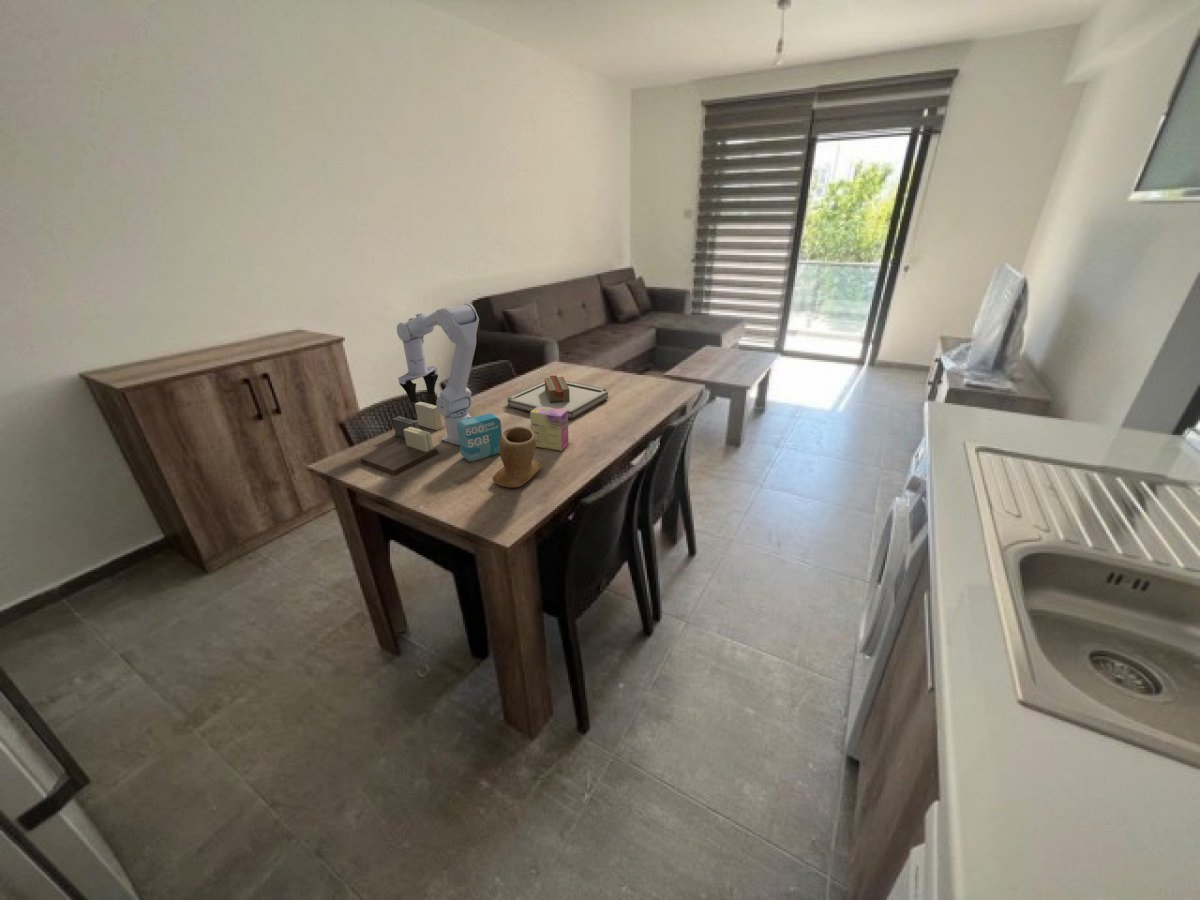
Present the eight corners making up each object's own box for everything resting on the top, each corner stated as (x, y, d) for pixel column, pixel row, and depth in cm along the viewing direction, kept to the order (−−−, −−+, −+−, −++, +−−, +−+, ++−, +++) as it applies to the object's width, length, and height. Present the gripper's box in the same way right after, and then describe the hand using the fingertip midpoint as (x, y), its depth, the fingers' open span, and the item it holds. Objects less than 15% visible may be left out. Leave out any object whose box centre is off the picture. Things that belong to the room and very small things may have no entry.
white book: (442, 427, 165) (438, 406, 161) (436, 430, 163) (433, 408, 160) (424, 422, 169) (420, 401, 166) (418, 425, 167) (414, 403, 164)
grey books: (420, 437, 158) (417, 421, 155) (413, 441, 156) (410, 424, 153) (402, 432, 162) (398, 415, 159) (395, 435, 160) (392, 418, 157)
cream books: (433, 448, 147) (430, 432, 145) (426, 452, 145) (423, 435, 143) (413, 442, 151) (410, 426, 149) (406, 445, 149) (403, 429, 147)
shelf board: (438, 453, 148) (437, 448, 147) (394, 475, 136) (393, 470, 135) (405, 442, 155) (404, 438, 154) (361, 462, 142) (360, 458, 142)
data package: (467, 463, 142) (461, 426, 136) (461, 457, 145) (455, 421, 140) (504, 452, 148) (500, 416, 143) (497, 447, 151) (493, 412, 146)
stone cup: (523, 495, 126) (519, 444, 119) (487, 485, 130) (480, 435, 124) (553, 470, 138) (550, 422, 131) (519, 461, 142) (514, 415, 136)
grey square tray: (611, 397, 191) (611, 379, 188) (567, 422, 168) (566, 402, 165) (551, 384, 205) (550, 367, 202) (503, 406, 183) (501, 387, 180)
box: (569, 443, 153) (567, 409, 148) (562, 451, 149) (560, 416, 143) (539, 439, 156) (537, 405, 151) (532, 446, 152) (529, 412, 146)
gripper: (423, 352, 163) (430, 390, 169) (388, 362, 151) (396, 403, 157) (439, 354, 160) (445, 393, 166) (404, 366, 148) (412, 406, 154)
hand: (422, 398), depth 161 cm, fingers open, 7 cm apart
